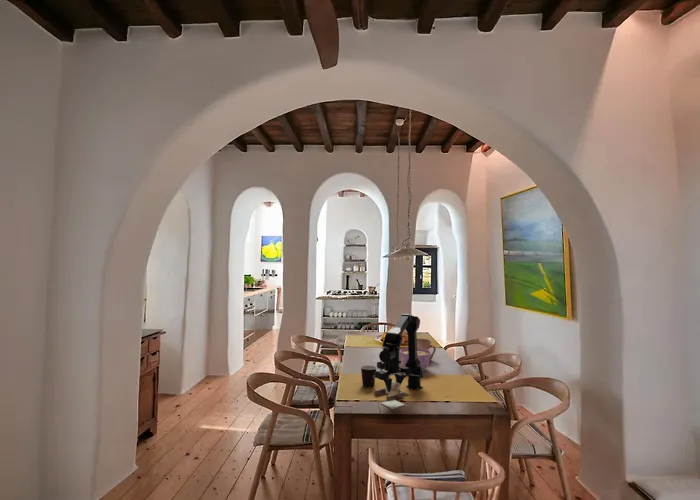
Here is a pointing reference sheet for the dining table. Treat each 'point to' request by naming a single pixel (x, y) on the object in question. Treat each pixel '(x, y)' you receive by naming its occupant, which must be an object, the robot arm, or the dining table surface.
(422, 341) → the ceramic jug
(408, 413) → the dining table surface
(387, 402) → the sage coaster
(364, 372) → the coffee mug
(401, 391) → the tile
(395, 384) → the beech block
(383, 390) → the walnut channel
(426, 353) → the bowl of food
